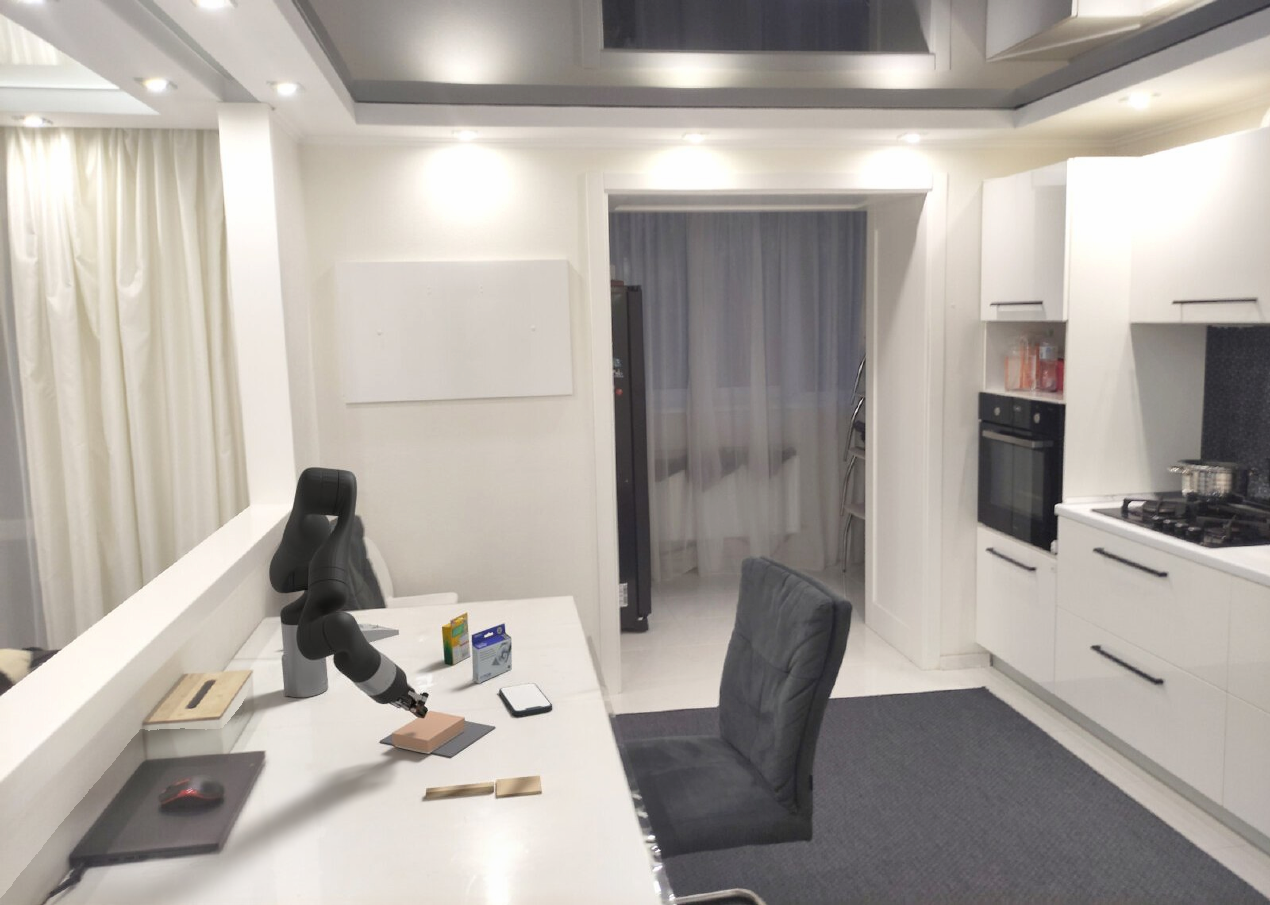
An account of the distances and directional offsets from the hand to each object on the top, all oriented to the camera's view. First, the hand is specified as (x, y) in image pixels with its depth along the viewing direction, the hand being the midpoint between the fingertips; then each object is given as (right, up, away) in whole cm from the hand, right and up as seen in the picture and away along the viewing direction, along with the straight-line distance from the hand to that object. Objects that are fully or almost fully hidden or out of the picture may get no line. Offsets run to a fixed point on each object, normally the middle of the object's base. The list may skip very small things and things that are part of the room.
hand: (423, 713), depth 195 cm
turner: (+16, -9, -20) cm, 27 cm away
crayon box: (-2, 0, +49) cm, 49 cm away
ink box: (+9, -1, +37) cm, 38 cm away
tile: (-2, -5, -3) cm, 6 cm away
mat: (+2, -6, +5) cm, 8 cm away
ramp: (-35, +1, +66) cm, 75 cm away
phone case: (+18, -4, +21) cm, 28 cm away
